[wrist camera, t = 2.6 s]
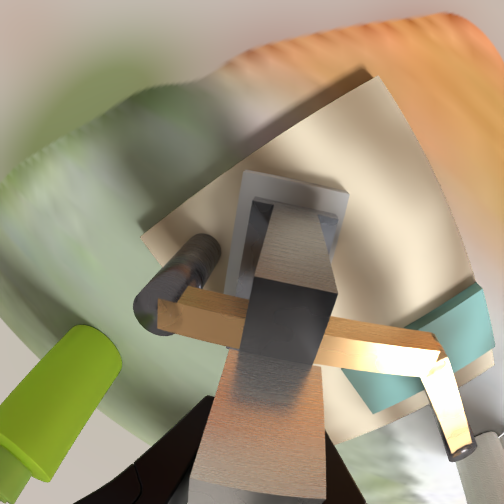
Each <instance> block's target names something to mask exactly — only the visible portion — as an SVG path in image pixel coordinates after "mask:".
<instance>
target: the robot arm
mask: <svg viewBox="0 0 504 504" xmlns="http://www.w3.org/2000/svg"><path fill="white" fill-rule="evenodd" d="M214 398H215V397H213V396H209V395H207V396H205V397H204V398H203V399H202V400H201V401H200V402H199V403H198V404H197V405H196V406H195V407H194V408H193V409H192V410H191V411H189V412H188V413H187V414H186V415H185V416H184V417H183V418H182V419H181V420H180V421H179V422H178V423H177V424H176V425H175V426H174V427H172V428H171V429H170V430H169V431H168V432H167V433H166V434H165V435H164V436H163V437H162V438H161V439H159V440H158V441H157V442H156V443H155V444H154V445H153V446H152V447H151V448H149V449H148V450H147V451H146V452H145V453H144V454H143V455H142V456H140V458H138V459H137V460H136V461H135V462H134V464H131V465H130V466H129V467H128V468H126V469H125V470H124V471H123V472H122V473H120V474H119V475H118V476H116V477H115V478H114V479H113V480H111V481H110V482H108V483H107V484H105V485H104V486H102V487H101V488H99V489H98V490H96V491H94V492H92V493H91V494H89V495H87V496H86V497H84V498H82V499H80V500H79V501H77V502H75V503H73V504H187V503H188V493H189V479H190V475H191V472H192V468H193V465H194V462H195V459H196V456H197V452H198V449H199V446H200V443H201V440H202V436H203V433H204V430H205V427H206V424H207V420H208V417H209V414H210V411H211V407H212V404H213V401H214ZM325 454H326V500H325V501H324V502H323V503H322V504H367V503H366V500H365V499H364V497H363V495H362V493H361V492H360V490H359V488H358V487H357V485H356V483H355V481H354V480H353V478H352V476H351V474H350V472H349V471H348V469H347V467H346V465H345V464H344V462H343V460H342V458H341V457H340V455H339V453H338V451H337V449H336V448H335V446H334V444H333V442H332V441H331V439H330V437H329V435H328V433H327V432H326V430H325Z"/></svg>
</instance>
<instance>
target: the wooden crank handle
mask: <svg viewBox="0 0 504 504" xmlns="http://www.w3.org/2000/svg"><path fill="white" fill-rule="evenodd" d="M220 257H221V247H220V245H219V243H218V241H217V240H216V239H215V238H214V237H212V236H211V235H208V234H204V233H199V234H196V235H194V236H192V237H191V238H190V239H189V240H188V241H187V242H186V243H185V244H184V245H183V246H182V247H181V248H180V249H179V250H178V251H177V253H176V254H175V255H174V256H173V257H172V258H171V259H170V260H169V261H168V262H167V263H166V264H165V265H164V266H163V268H162V269H161V270H160V271H159V272H158V273H157V274H156V275H155V276H154V277H153V278H152V279H151V281H150V282H149V283H148V284H147V285H146V286H145V287H144V288H143V289H142V290H141V292H140V293H139V294H138V295H137V296H136V298H135V300H134V303H133V310H134V314H135V317H136V319H137V320H138V322H139V323H140V324H141V325H142V326H143V327H144V328H145V329H146V330H148V331H149V332H151V333H153V334H156V335H159V336H170V335H173V334H179V335H183V336H187V337H191V338H194V339H198V340H202V341H206V342H210V343H215V344H219V345H223V346H227V347H232V348H236V349H239V348H240V343H241V338H242V333H243V328H244V323H245V318H246V313H247V309H248V304H249V299H244V298H240V297H235V296H231V295H226V294H222V293H217V292H213V291H209V290H204V289H203V287H204V286H205V284H206V282H207V280H208V279H209V277H210V275H211V274H212V272H213V270H214V268H215V267H216V265H217V263H218V261H219V260H220ZM313 364H320V365H326V366H332V367H339V368H346V369H353V370H361V371H369V372H377V373H386V374H396V375H406V376H418V377H421V379H422V382H423V384H424V386H425V388H426V389H425V393H426V395H427V398H428V401H429V403H430V406H431V409H432V411H433V414H434V417H435V420H436V423H437V426H438V428H439V431H440V434H441V437H442V440H443V443H444V446H445V450H446V453H447V456H448V459H449V461H450V462H456V461H460V460H462V459H464V458H466V457H468V456H469V455H471V454H472V453H473V452H474V451H475V450H476V448H477V443H476V440H475V438H474V435H473V433H472V430H471V428H470V425H469V423H468V421H467V418H466V416H465V412H464V409H463V405H462V401H461V398H460V395H459V391H458V388H457V384H456V381H455V378H454V375H453V372H452V369H451V366H450V363H449V360H448V357H447V355H446V353H445V351H444V349H443V347H442V346H441V344H440V342H439V340H438V339H437V337H436V335H435V334H433V333H431V332H424V331H417V330H411V329H404V328H398V327H392V326H386V325H380V324H374V323H368V322H362V321H356V320H351V319H345V318H339V317H334V316H330V319H329V322H328V325H327V328H326V330H325V333H324V336H323V339H322V341H321V344H320V347H319V349H318V352H317V355H316V357H315V360H314V362H313Z"/></svg>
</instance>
